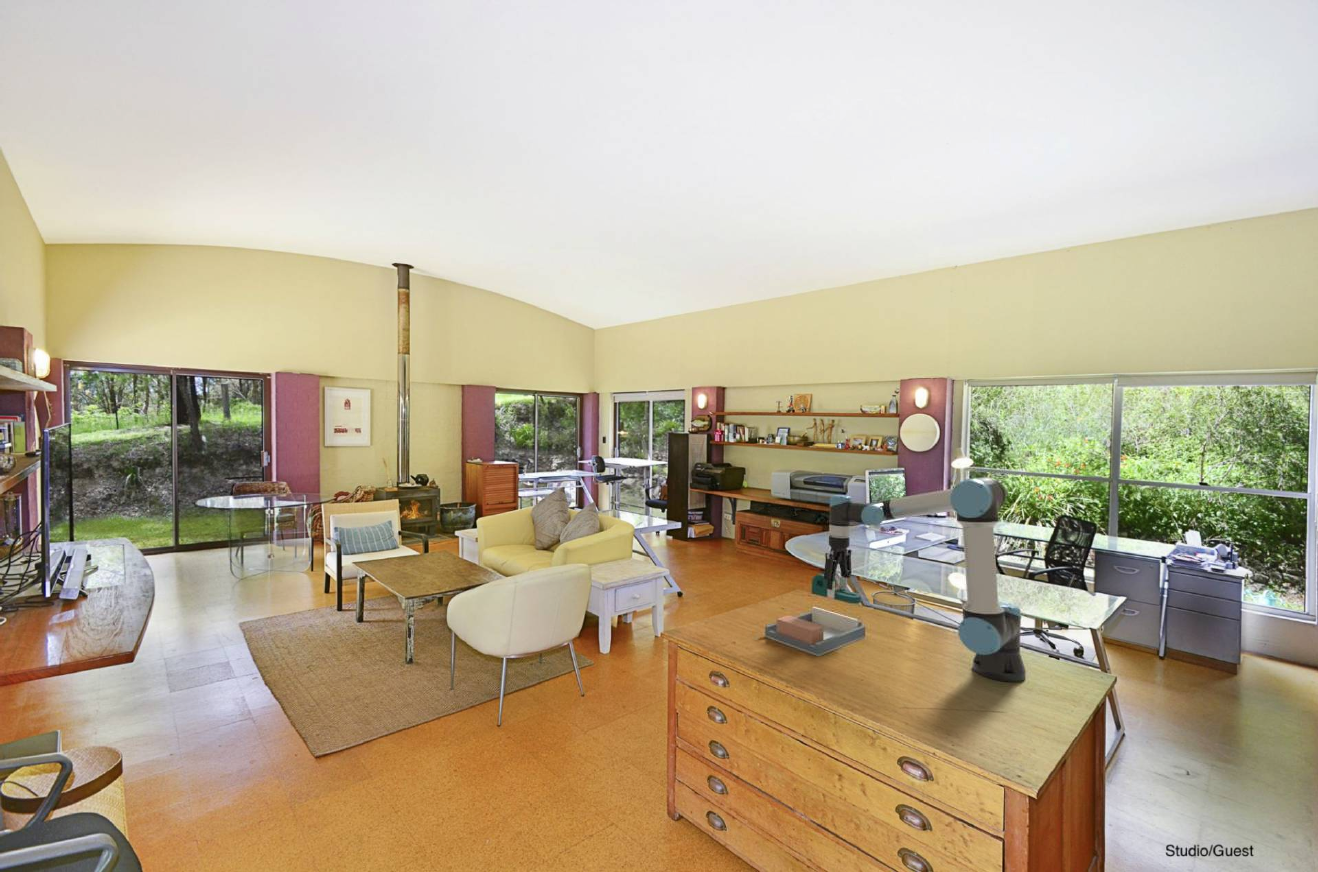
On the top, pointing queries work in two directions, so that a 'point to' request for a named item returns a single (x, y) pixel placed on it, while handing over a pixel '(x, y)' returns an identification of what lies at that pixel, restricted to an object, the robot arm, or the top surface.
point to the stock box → (800, 629)
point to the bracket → (842, 595)
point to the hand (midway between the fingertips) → (837, 595)
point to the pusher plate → (833, 620)
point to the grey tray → (830, 641)
